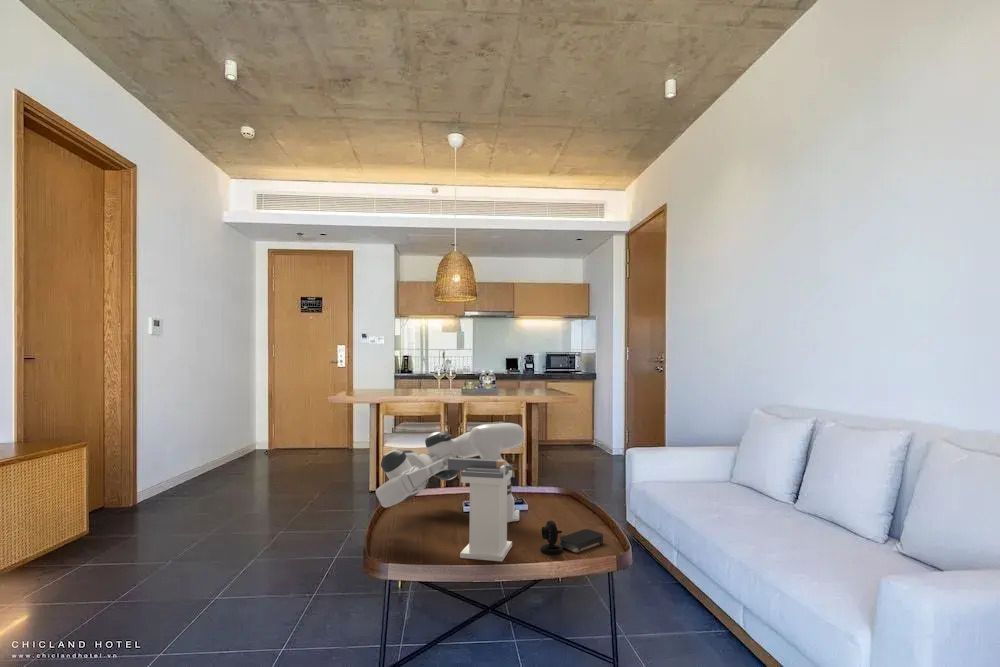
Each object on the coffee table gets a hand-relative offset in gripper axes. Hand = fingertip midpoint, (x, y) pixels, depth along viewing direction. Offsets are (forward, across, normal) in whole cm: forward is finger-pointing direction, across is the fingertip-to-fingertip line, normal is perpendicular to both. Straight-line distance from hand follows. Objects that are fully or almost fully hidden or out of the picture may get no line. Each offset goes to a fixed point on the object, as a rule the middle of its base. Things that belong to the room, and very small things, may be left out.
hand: (447, 461), depth 186 cm
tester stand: (-1, +4, -33) cm, 33 cm away
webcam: (+17, -2, -44) cm, 47 cm away
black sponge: (+25, -10, -48) cm, 56 cm away
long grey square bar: (+8, 0, -8) cm, 11 cm away
